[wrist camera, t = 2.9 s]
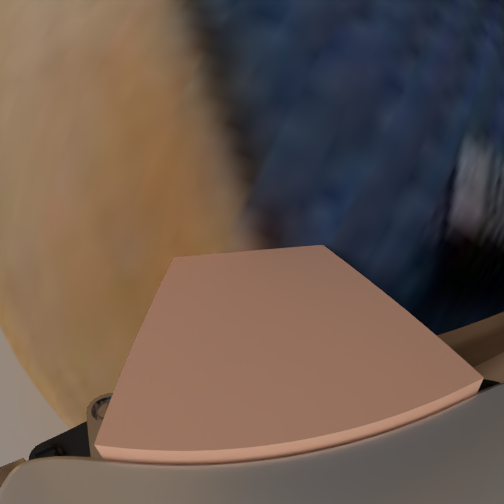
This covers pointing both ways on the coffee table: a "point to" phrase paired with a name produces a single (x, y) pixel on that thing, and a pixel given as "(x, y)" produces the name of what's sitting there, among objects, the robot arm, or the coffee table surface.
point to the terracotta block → (273, 362)
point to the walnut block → (481, 346)
